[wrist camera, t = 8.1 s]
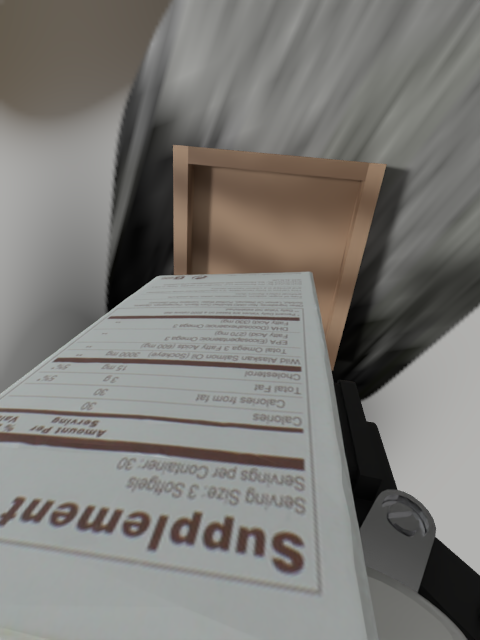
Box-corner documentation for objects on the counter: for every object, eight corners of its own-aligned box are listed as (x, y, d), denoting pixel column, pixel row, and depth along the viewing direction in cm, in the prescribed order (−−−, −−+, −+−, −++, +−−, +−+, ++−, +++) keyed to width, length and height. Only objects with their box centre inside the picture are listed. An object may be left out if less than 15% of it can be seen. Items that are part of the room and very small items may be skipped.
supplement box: (311, 403, 16) (348, 908, 5) (177, 395, 18) (-27, 791, 6) (317, 265, 13) (441, 792, 2) (153, 268, 15) (-323, 609, 3)
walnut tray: (183, 147, 27) (173, 145, 24) (378, 165, 25) (386, 164, 23) (182, 333, 34) (174, 345, 32) (330, 356, 33) (332, 370, 31)
